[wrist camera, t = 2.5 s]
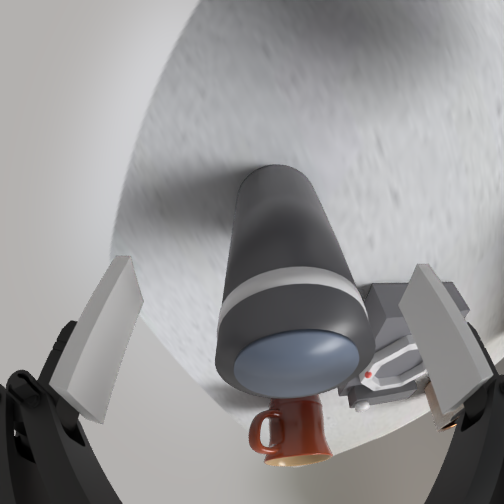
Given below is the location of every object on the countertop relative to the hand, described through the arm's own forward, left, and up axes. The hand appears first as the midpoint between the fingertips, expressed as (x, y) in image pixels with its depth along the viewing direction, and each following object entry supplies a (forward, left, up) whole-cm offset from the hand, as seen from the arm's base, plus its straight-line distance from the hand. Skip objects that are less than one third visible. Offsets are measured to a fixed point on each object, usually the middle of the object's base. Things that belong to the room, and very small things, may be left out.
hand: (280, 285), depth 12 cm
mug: (+28, +4, -8) cm, 29 cm away
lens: (0, 0, -8) cm, 8 cm away
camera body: (+14, +14, -8) cm, 21 cm away
